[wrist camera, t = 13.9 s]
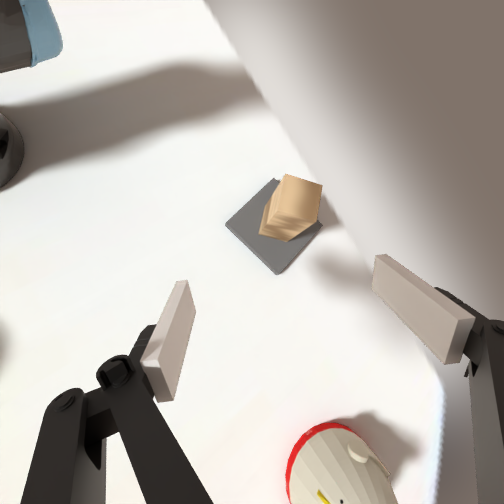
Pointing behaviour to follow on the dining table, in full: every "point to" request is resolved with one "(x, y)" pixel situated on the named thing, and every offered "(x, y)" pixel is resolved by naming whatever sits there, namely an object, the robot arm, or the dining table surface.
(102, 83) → the dining table surface
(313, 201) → the oak block
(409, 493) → the dining table surface
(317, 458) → the kitchen timer
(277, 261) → the coaster mat
